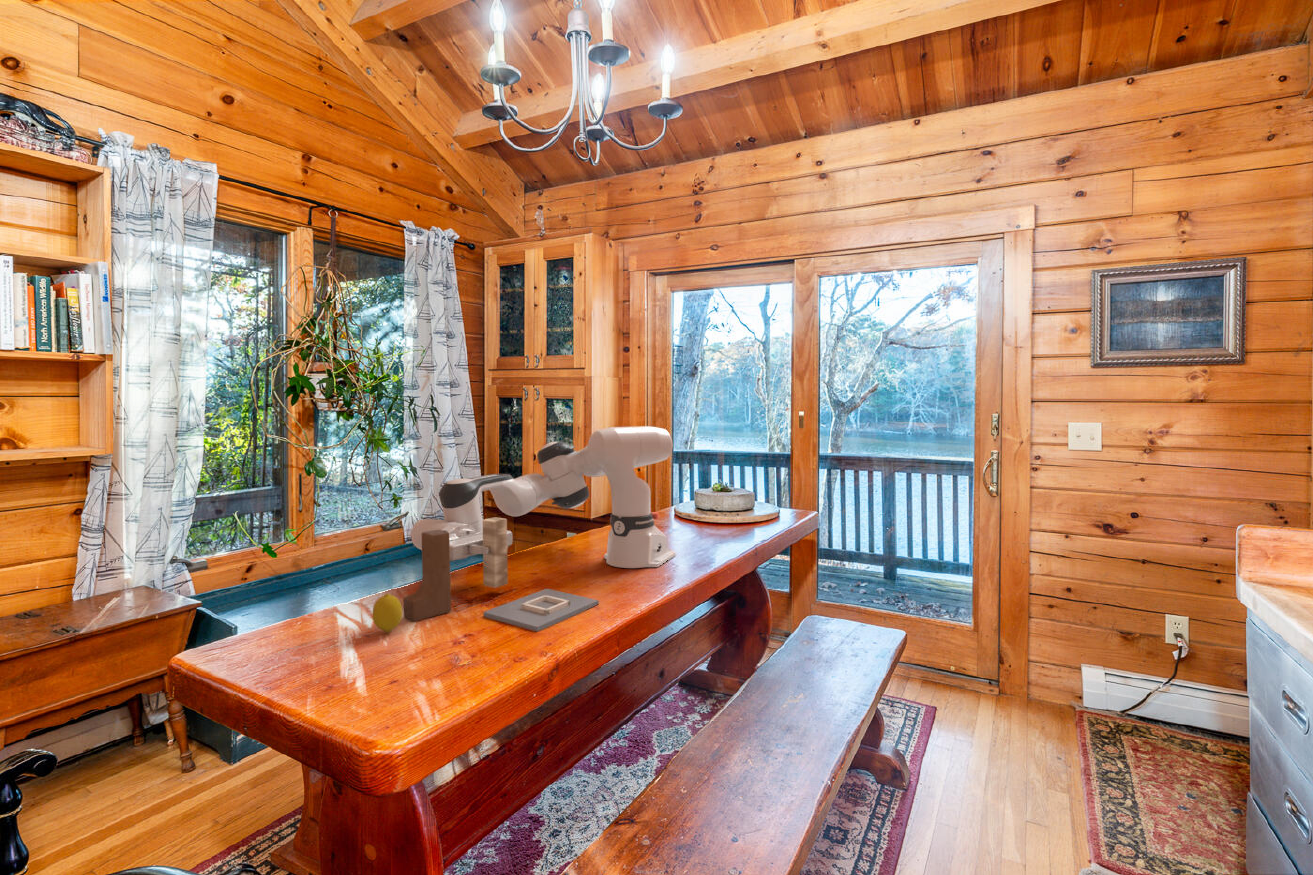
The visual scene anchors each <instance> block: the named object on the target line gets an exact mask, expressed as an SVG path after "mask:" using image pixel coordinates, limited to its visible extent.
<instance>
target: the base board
mask: <svg viewBox="0 0 1313 875" xmlns="http://www.w3.org/2000/svg"><path fill="white" fill-rule="evenodd" d="M599 603H600V602H599V599H595V598H594V599H593V598H590V597H585V596H581V595H577V594H572V593H567V592H563V591H559V590H555V589H550V588H544V589H542V590H539V591H537V592H533V593H531V594H528V595H526V596H523V597H520V598H517V599H514V600H512V601H509V602H507V603H504V604H501V605H498V606H496V607H493V608H491V609H488V610H486V611H483V612H482V614H483V617H484V618H488V619H490V620H495V621H499V622H501V623H505V624H509V625H512V626H516V627H519V628H523V629H526V630H530V631H533V632H536V633H537V632H539V631H542V630H544V629H547V628H549V627H551V626H554V625H556V624H559V623H560V622H563V621H564V620H567V619H569V618H571V617H574V616H576V615H579V614H581V613H582V612H585V611H588V610H590V609H592V608H594V607H596V606H595V605H597V604H599ZM593 606H594V607H593ZM597 606H598V605H597ZM591 607H592V608H591ZM589 608H590V609H589ZM587 609H588V610H587Z"/></svg>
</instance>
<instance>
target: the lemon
mask: <svg viewBox="0 0 1313 875" xmlns="http://www.w3.org/2000/svg"><path fill="white" fill-rule="evenodd" d="M402 617H403V607H402V604H401V601H400V600H399V599H398V598H397V597H396V596H394V595H392V594H389V593H385V594H383V596H381V597H379V598H378V599H377V600H376V601H375V602H374V605H373V609H372V621H373V623H374V625H375V627H376V628H378V629H379V630H382V631H384V632H385V633H387V634H388V633H390V632H391V631H392V630H394V629H395V628H396V627H398V625H399V624H400V622H402V621H401V620H402V619H403V618H402Z"/></svg>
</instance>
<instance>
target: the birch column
mask: <svg viewBox="0 0 1313 875" xmlns="http://www.w3.org/2000/svg"><path fill="white" fill-rule="evenodd" d="M507 522H508V519H507V518H504V517H503V518H502V517H496V516H495V517H489V518H485V519H483V546H486V545H487V546H490V547H491V553H490V554H487V555H485V554H482V557H483V559H482V561H483V562H482V563H483V568H482V571H483V572H482V573H483V576H482V577H483V586H485V587H489V588H494V589H497V588H499V587H503V586H506V585H508V582H509V580H508V576H509V574H508V549H507V531H508V523H507Z"/></svg>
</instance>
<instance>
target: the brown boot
mask: <svg viewBox="0 0 1313 875" xmlns="http://www.w3.org/2000/svg"><path fill="white" fill-rule="evenodd" d="M421 564H422V565H421V566H422V571H421V572H422V577H421V582H420V586H418V588H417V589H416V591H415V592H413V593H411V594H409V595H406V596H404V597H403V600H402V601H403V603H402V604H403V607H402V609H403V618H405V619H406V620H408V621H410V622H413V623H414V622H419V621H421V620H424V619H425V620H427V619H429V618H433V617H436V616H441V615H444V614H448V613H450V612H452V602H451V601H452V597H451V595H452V592H451V590H452V589H451V561H450V543H449V532H446V531H442V530H433V531H428V532H423V533H422V550H421Z"/></svg>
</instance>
